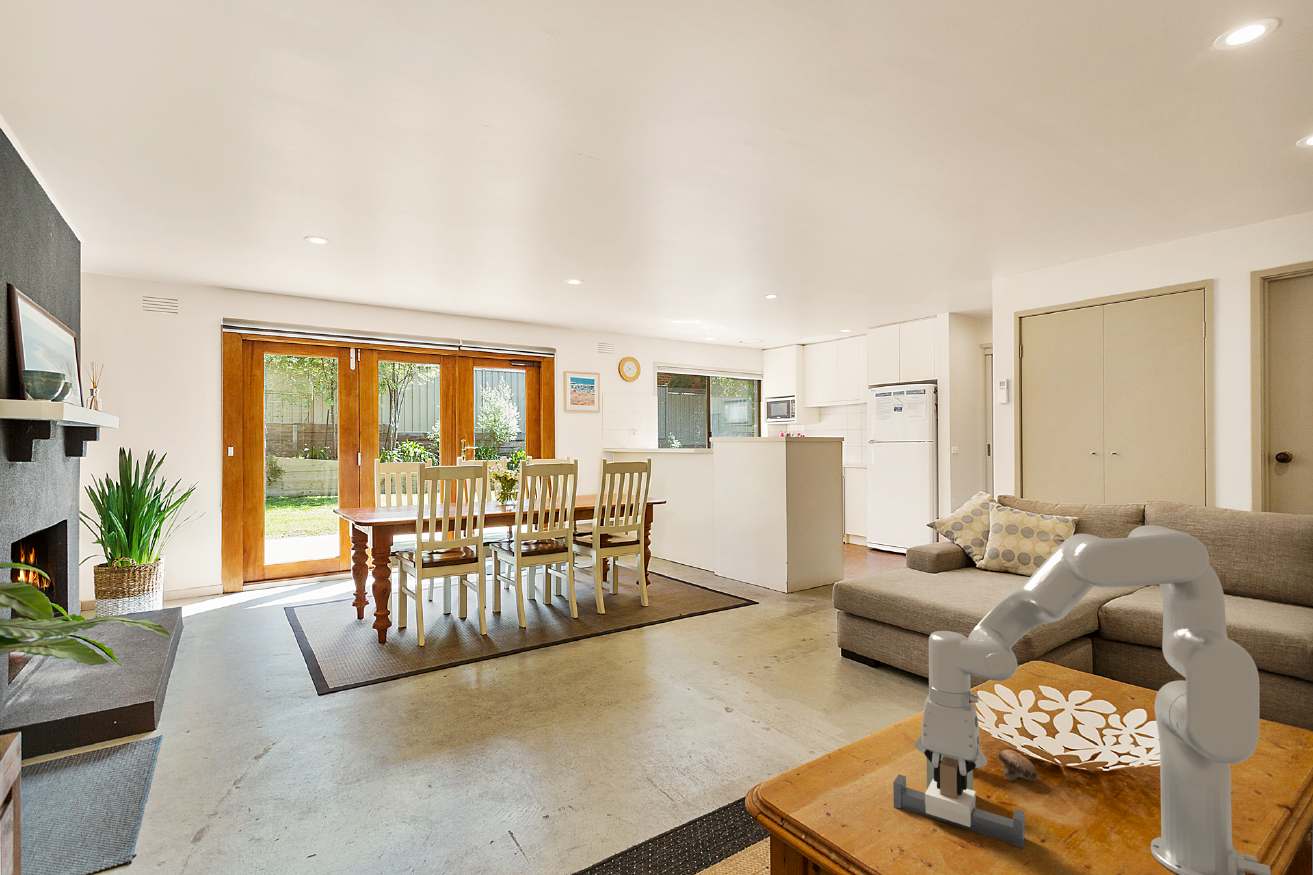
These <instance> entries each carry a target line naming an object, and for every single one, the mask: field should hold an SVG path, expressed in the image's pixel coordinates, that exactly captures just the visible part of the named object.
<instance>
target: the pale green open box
mask: <svg viewBox="0 0 1313 875" xmlns="http://www.w3.org/2000/svg"><path fill="white" fill-rule="evenodd" d="M944 756H946V757H950V758H954V759H957V760H958V758H955V757H951V756H948V755H944V754H941V761H942V759H943V757H944ZM932 779H934V767H933V766H932V763H931V762H930V761H929V759H928V758H927V757H926V790H927V789H928V787H929V785H930V783H931V781H932ZM967 789H969V790H973V791H974V769H973V770H972V771H970V772H969V773H967Z"/></svg>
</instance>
